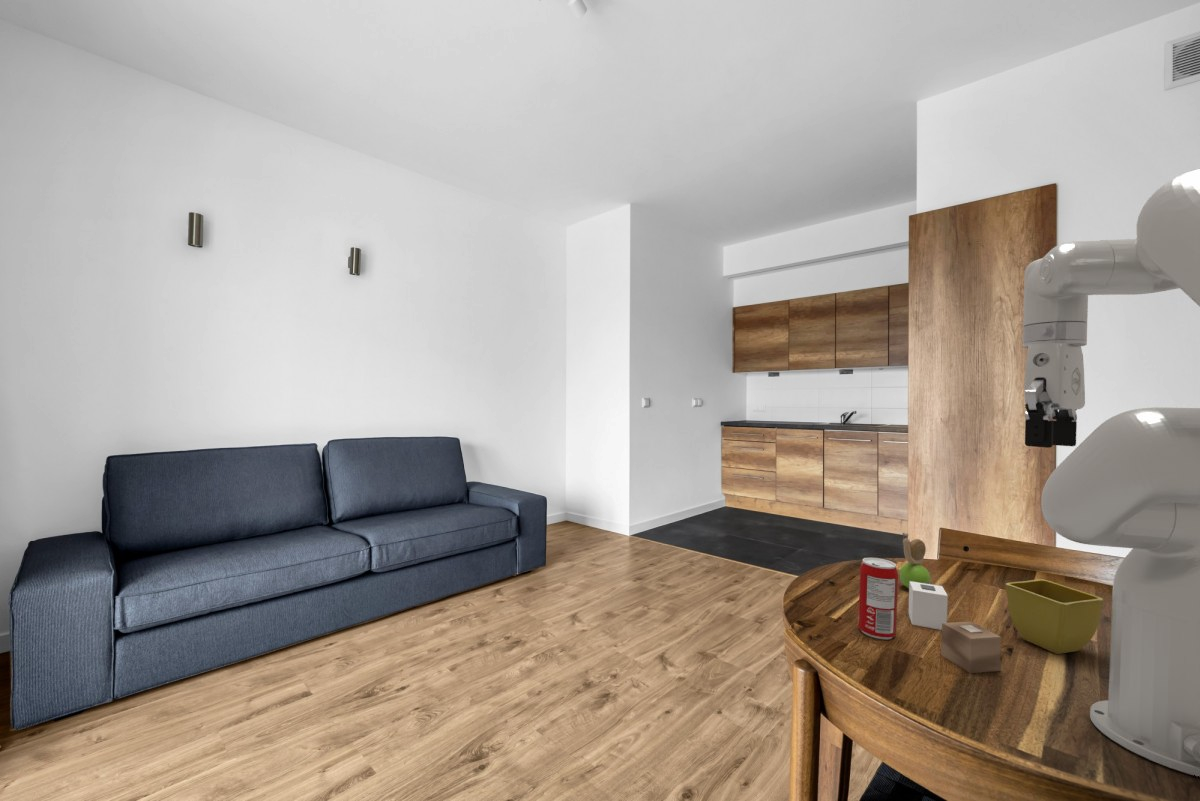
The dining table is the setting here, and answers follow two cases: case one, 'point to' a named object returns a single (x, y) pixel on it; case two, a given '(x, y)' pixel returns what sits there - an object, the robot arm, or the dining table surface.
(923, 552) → the snail figurine
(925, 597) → the white block
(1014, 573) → the dining table surface
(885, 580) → the soda can
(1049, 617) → the flower pot
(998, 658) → the walnut block
